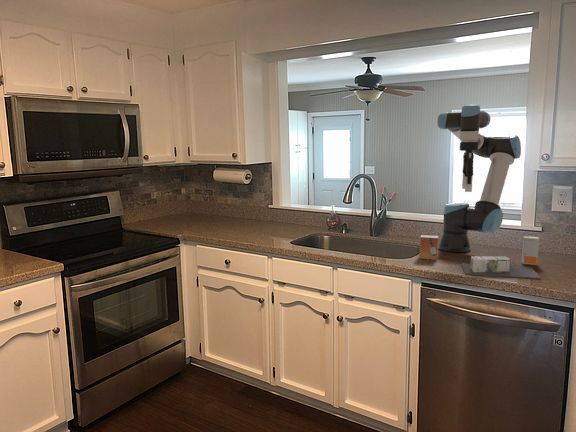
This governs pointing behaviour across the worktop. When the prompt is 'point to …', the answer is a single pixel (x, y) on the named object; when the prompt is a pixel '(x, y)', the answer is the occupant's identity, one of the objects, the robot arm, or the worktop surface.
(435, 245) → the small box
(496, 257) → the syrup box
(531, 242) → the skincare box
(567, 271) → the worktop surface
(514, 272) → the charcoal mat
